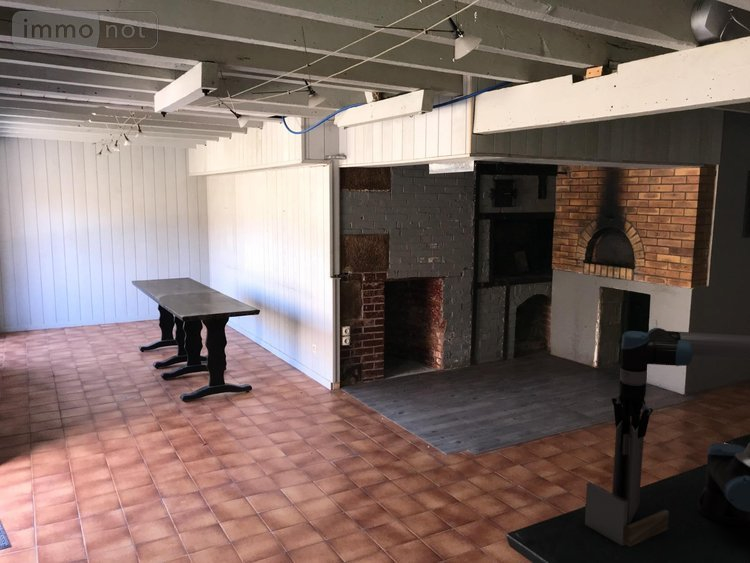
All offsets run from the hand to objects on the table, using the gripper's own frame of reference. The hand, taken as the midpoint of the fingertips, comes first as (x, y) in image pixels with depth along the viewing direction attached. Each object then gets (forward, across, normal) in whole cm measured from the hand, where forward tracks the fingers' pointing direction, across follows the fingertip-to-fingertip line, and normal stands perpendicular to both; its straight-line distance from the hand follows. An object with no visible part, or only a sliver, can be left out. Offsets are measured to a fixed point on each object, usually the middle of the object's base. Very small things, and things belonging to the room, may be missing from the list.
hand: (629, 454), depth 193 cm
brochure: (+20, 0, 0) cm, 20 cm away
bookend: (+24, 0, -10) cm, 25 cm away
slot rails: (+24, 0, 0) cm, 24 cm away
